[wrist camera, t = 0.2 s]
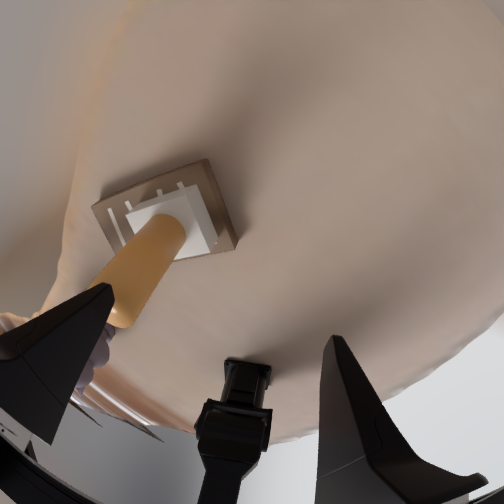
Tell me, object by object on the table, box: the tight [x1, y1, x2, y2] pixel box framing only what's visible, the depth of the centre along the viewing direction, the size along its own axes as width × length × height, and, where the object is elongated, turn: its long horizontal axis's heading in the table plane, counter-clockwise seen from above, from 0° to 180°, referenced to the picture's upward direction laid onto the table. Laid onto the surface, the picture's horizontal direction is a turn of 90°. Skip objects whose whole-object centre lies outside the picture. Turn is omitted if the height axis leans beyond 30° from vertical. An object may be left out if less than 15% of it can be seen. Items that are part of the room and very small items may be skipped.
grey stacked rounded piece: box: [74, 322, 115, 397], centre depth 32 cm, size 8×8×12 cm
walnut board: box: [91, 159, 238, 262], centre depth 24 cm, size 8×13×2 cm, turn 108°
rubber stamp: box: [87, 184, 218, 328], centre depth 18 cm, size 5×6×11 cm
